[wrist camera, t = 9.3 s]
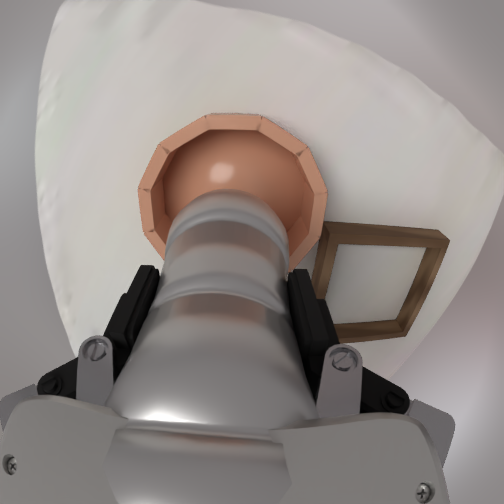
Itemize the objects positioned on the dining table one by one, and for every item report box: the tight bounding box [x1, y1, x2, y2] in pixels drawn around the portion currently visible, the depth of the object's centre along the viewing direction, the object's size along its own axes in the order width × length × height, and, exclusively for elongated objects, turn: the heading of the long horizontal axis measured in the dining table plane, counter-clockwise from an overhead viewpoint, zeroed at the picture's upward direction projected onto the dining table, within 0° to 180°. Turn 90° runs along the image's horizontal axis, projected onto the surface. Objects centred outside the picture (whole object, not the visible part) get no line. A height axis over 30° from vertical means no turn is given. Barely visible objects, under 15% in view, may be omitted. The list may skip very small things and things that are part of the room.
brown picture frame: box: [311, 221, 450, 344], centre depth 29 cm, size 15×15×2 cm
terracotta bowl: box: [138, 113, 328, 273], centre depth 22 cm, size 14×14×4 cm
